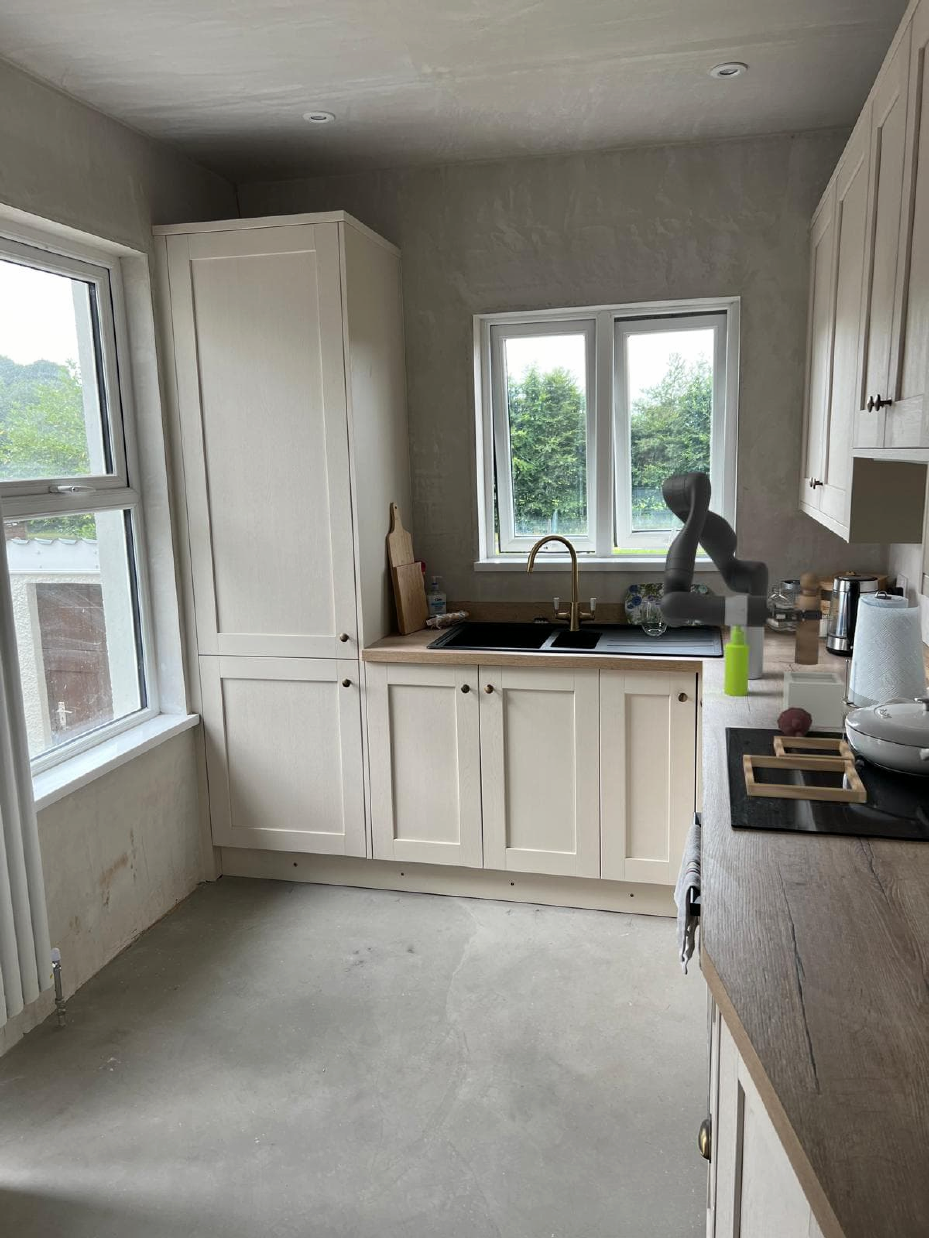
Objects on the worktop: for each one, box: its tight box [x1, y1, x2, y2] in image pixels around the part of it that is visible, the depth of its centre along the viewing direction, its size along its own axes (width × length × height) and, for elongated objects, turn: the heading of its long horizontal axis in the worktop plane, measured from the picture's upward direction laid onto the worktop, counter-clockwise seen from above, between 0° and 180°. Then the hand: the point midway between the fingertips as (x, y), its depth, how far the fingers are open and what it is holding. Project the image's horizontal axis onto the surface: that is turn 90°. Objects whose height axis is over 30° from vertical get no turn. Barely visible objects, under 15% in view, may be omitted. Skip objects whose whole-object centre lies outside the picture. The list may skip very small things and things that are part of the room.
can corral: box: [773, 735, 856, 768], centre depth 191 cm, size 13×14×2 cm
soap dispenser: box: [723, 627, 749, 697], centre depth 242 cm, size 6×7×20 cm
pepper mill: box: [794, 572, 822, 666], centre depth 214 cm, size 5×5×22 cm
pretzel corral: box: [742, 754, 867, 804], centre depth 175 cm, size 18×20×2 cm
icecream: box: [776, 707, 812, 737], centre depth 204 cm, size 7×8×15 cm
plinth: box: [782, 670, 845, 729], centre depth 217 cm, size 12×12×10 cm
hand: (820, 613), depth 213 cm, fingers closed on pepper mill, 5 cm apart
